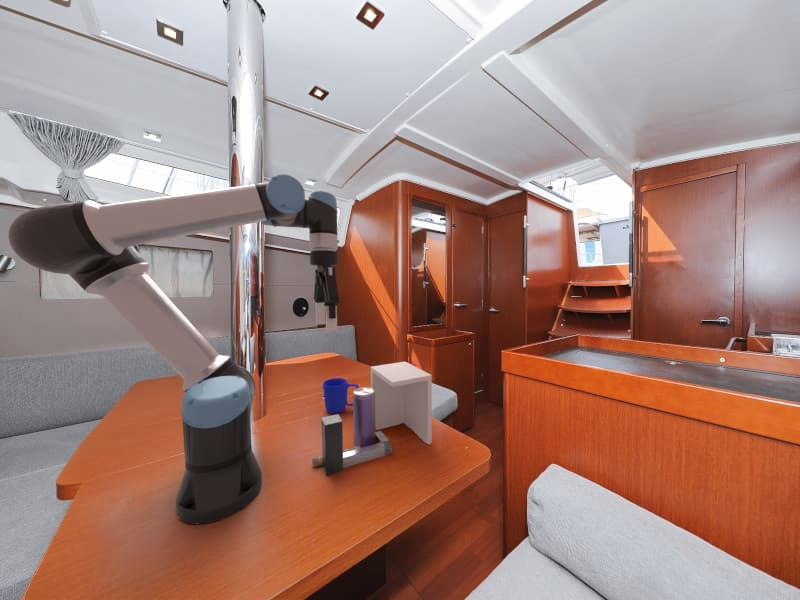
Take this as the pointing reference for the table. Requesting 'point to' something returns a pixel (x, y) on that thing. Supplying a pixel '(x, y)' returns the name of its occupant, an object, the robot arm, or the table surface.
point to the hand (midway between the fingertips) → (325, 327)
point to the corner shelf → (403, 398)
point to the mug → (336, 394)
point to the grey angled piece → (338, 460)
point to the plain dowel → (319, 460)
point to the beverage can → (364, 417)
